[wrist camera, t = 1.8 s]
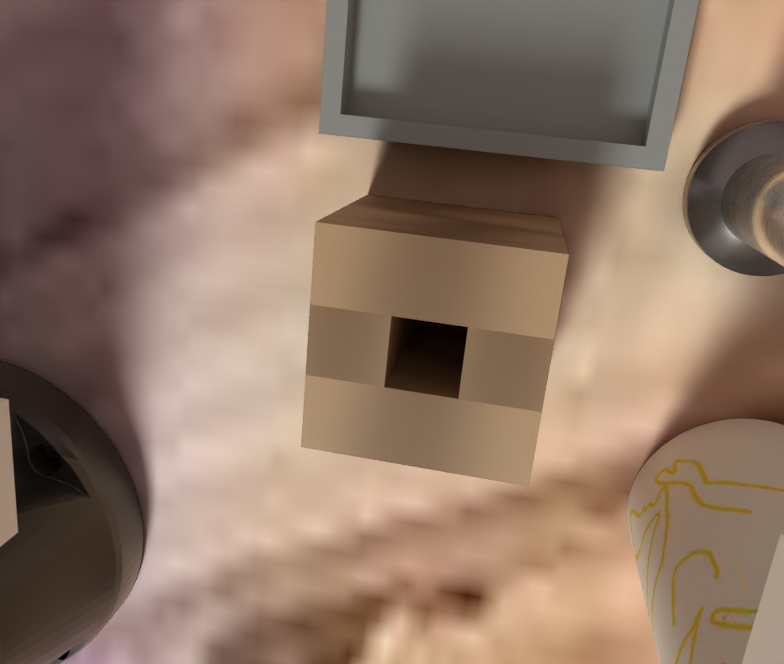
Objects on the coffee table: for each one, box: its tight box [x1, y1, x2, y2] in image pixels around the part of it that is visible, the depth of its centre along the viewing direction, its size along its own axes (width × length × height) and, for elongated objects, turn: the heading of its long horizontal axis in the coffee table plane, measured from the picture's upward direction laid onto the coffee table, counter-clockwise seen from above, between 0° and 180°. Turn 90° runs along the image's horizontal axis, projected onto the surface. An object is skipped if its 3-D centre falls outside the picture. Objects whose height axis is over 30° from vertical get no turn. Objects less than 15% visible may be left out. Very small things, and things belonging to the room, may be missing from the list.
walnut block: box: [301, 195, 569, 486], centre depth 24 cm, size 7×7×7 cm
